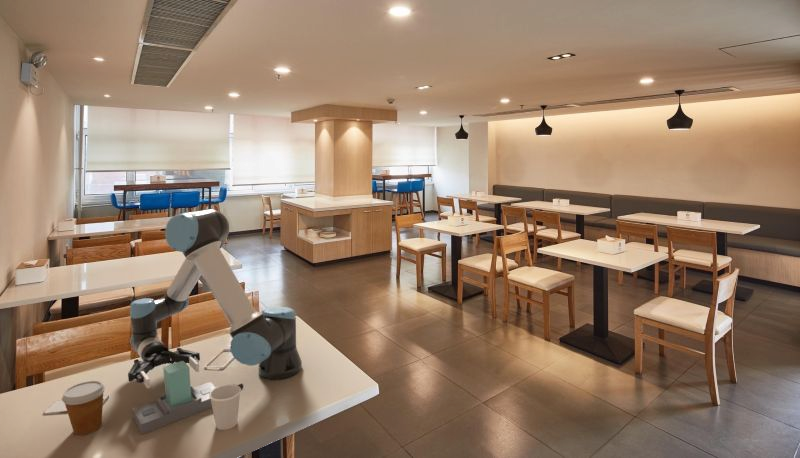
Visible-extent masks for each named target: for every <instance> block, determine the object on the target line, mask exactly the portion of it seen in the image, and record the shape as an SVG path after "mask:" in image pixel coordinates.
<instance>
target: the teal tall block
mask: <svg viewBox="0 0 800 458" xmlns="http://www.w3.org/2000/svg"><path fill="white" fill-rule="evenodd" d="M162 369H163V381H164V392H165V394H164V395H166V401H167V403H168V404H169V406H170V407H171V408H173V407H175V406H178V405H181V404H184V403H186V402H189V401H192V400H191V387H192V386H191V374H190V372H191V370H190V365H189V364H188V363H185V362H184V361H180V362H177V363H175V362H174V363H173V364H167V365H164V366H163V367H162Z"/></svg>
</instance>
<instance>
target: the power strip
mask: <svg viewBox="0 0 800 458" xmlns="http://www.w3.org/2000/svg"><path fill="white" fill-rule="evenodd" d="M236 385H237V386H239V387H240V388H241V389H242V388H243V387H244V383H239V384H236ZM215 388H217V387H216V386H215V385H214V384H213V383H212V382H211V381H208V382H206V383H203V384H201V385H198V386H194V387H193V386H191V400H192V401H189V402H186V403H184V404H181V405H178V406H175V407H173V408H171V407H170V406H169V404H168V403H167V401H166V395H165V394H162V395H159V396H158V397H156V398H155V400H154V401H151V402H148V403H146V404H142V405H140V406H137V407H133V408H131V409H132V418H133V420H134V422H135V424H136V426H137V428H138V429H139V431H140V433H141V435H145V434H147V433H149V432H152V431H154V430H157V429H159V428H162V427H164V426H167V425H169V424H172V423H175V422H177V421H180V420H183V419H186V418H188V417H190V416H193V415H196V414H198V413H200V412H203V411H206V410H208V409H211V408H212V404H211V399H210V398H209V394H210V392H211V391H212V390H213V389H215Z"/></svg>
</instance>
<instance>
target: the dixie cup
mask: <svg viewBox="0 0 800 458" xmlns="http://www.w3.org/2000/svg"><path fill="white" fill-rule="evenodd" d="M237 385H238V384H234V383H233V384H230V383H229V384H222V385H219V386H217V387H216V388H215V389H213V390H212V391H211V392H210V394H209V398H210V399H211V404H212V407H211V408H212V412H213V413H212V414H213V418H214V423H215V427H216V429H218V430H219V431H227V430H231V429H232V428H234V427H235V426H237V424H238V418H239V411H240V410H239V407H240V399H241V398H240V396H241V391H242V387H241V388H240V387H239V386H237Z"/></svg>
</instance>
